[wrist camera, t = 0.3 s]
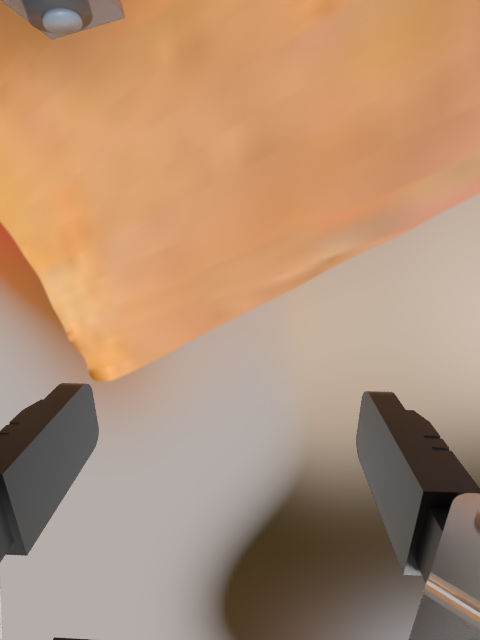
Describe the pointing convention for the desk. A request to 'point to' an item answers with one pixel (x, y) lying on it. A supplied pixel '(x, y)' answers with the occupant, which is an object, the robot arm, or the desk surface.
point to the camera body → (66, 14)
